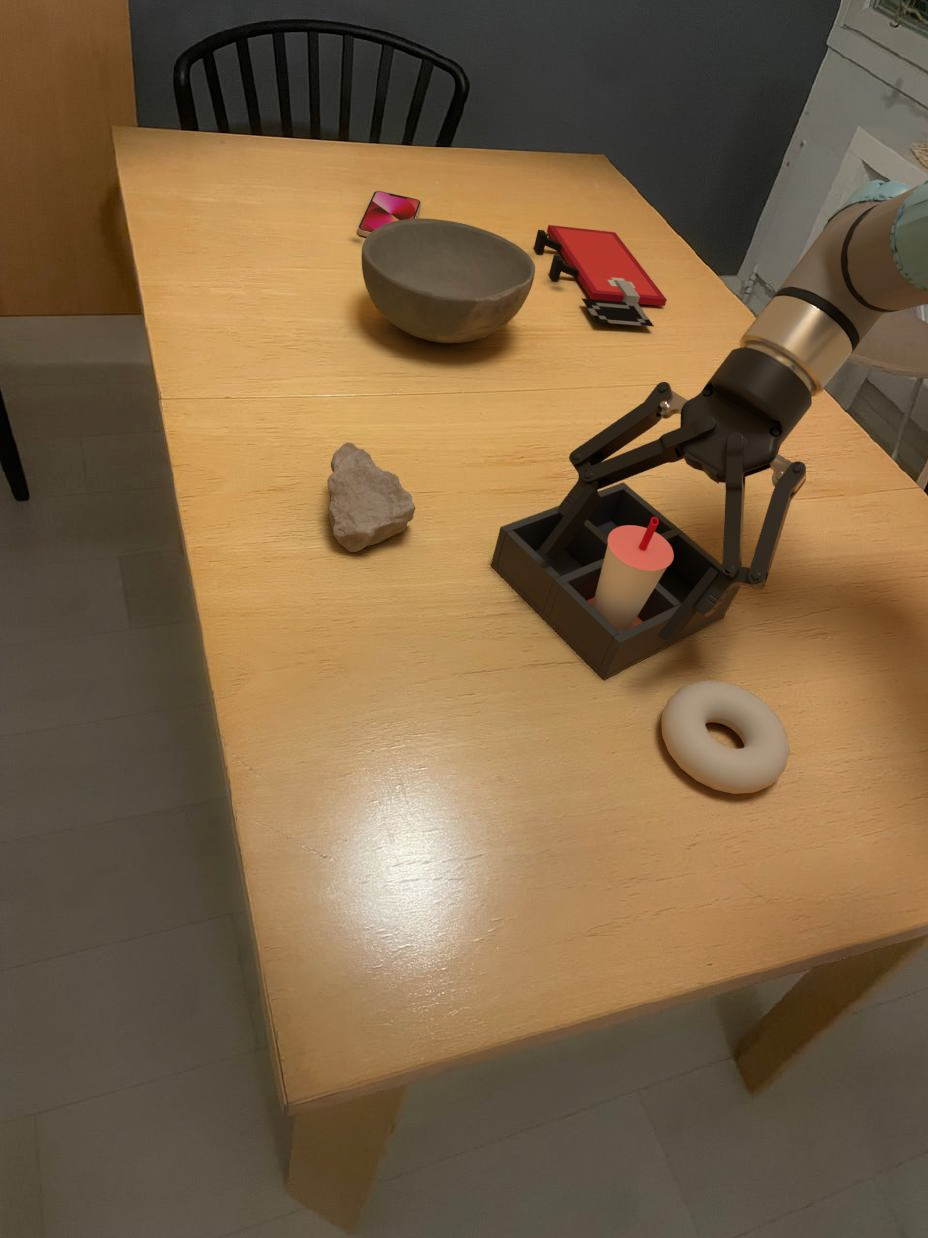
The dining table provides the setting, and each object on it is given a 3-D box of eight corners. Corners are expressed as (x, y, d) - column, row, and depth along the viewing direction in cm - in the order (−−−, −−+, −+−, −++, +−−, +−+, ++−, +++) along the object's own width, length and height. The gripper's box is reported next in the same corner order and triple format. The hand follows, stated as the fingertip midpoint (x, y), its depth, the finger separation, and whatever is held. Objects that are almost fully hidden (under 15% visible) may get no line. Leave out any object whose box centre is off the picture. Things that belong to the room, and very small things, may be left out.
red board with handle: (580, 327, 114) (683, 335, 118) (586, 307, 112) (690, 315, 117) (523, 231, 134) (612, 241, 139) (527, 212, 132) (617, 223, 137)
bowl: (439, 278, 118) (450, 202, 111) (550, 347, 110) (570, 270, 103) (321, 311, 107) (325, 228, 99) (436, 391, 98) (449, 307, 91)
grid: (723, 618, 80) (743, 581, 76) (603, 680, 72) (620, 643, 69) (609, 518, 87) (623, 481, 84) (490, 565, 79) (500, 526, 76)
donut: (685, 679, 74) (633, 751, 67) (700, 652, 71) (648, 724, 65) (794, 745, 71) (752, 827, 64) (814, 718, 68) (772, 800, 62)
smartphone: (356, 229, 122) (374, 189, 133) (355, 236, 123) (373, 196, 134) (408, 240, 123) (422, 199, 133) (407, 247, 123) (421, 206, 134)
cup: (636, 654, 73) (686, 547, 65) (574, 637, 74) (616, 528, 65) (640, 612, 77) (688, 505, 69) (582, 595, 77) (622, 487, 69)
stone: (293, 498, 81) (295, 446, 77) (369, 480, 85) (375, 429, 81) (342, 565, 76) (348, 513, 72) (421, 542, 80) (431, 492, 76)
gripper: (907, 466, 67) (730, 691, 69) (660, 327, 76) (509, 529, 78) (919, 430, 60) (722, 681, 62) (645, 282, 70) (480, 504, 71)
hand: (603, 596), depth 70 cm, fingers open, 11 cm apart
